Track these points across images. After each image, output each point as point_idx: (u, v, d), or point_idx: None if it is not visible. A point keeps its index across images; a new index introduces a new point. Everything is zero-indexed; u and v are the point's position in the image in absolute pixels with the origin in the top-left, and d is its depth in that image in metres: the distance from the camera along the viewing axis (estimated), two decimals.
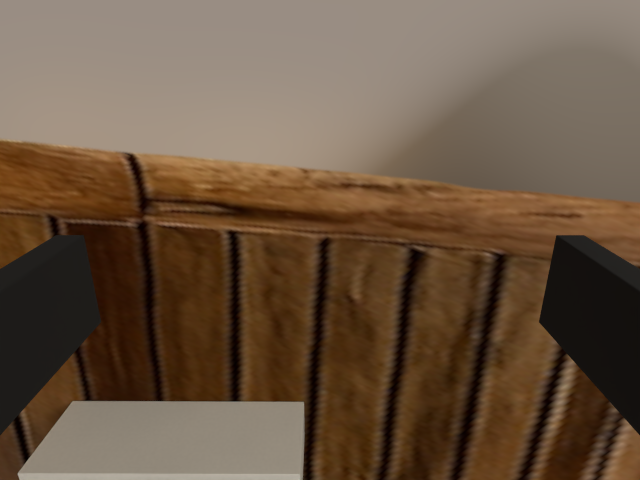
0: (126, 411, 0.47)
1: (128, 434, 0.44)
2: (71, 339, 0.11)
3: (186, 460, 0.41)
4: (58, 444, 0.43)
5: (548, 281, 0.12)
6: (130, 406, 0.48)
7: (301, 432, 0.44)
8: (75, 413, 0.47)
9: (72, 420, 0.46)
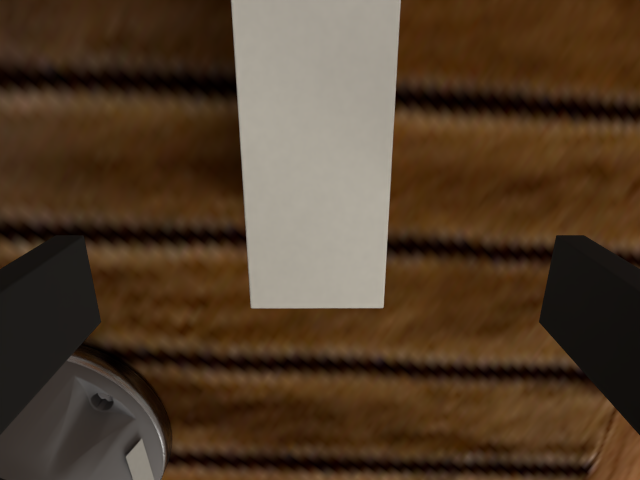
0: None
1: None
2: (71, 339, 0.11)
3: None
4: None
5: (549, 281, 0.12)
6: None
7: None
8: None
9: None
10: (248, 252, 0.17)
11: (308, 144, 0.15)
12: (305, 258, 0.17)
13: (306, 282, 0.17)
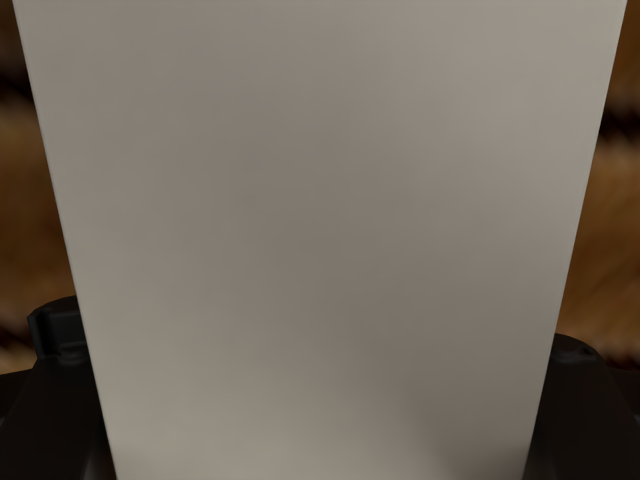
0: None
1: None
2: None
3: None
4: None
5: None
6: None
7: None
8: None
9: None
10: None
11: (292, 295, 0.05)
12: None
13: None
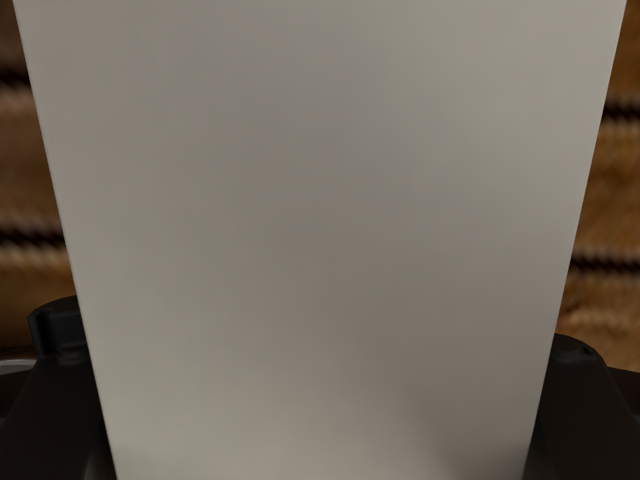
0: None
1: None
2: None
3: None
4: None
5: None
6: None
7: None
8: None
9: None
10: None
11: (292, 294, 0.05)
12: None
13: None
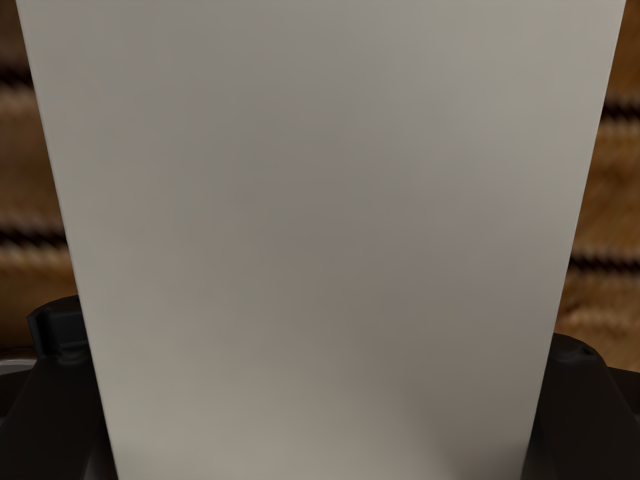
0: None
1: None
2: None
3: None
4: None
5: None
6: None
7: None
8: None
9: None
10: None
11: (293, 292, 0.05)
12: None
13: None
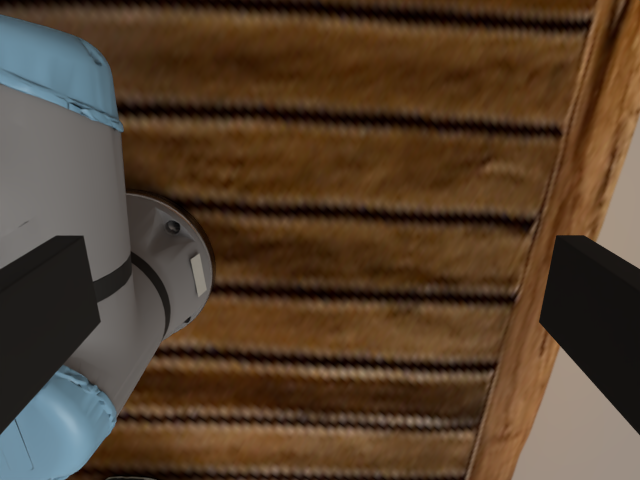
0: None
1: None
2: (71, 339, 0.11)
3: None
4: None
5: (549, 281, 0.12)
6: None
7: None
8: None
9: None
10: None
11: None
12: None
13: None
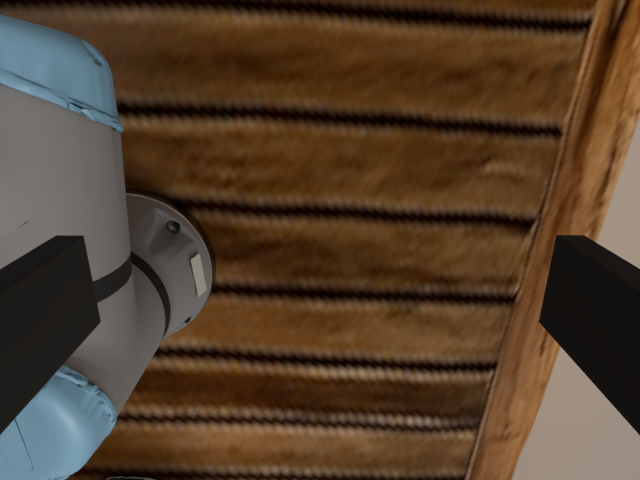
0: None
1: None
2: (71, 339, 0.11)
3: None
4: None
5: (549, 281, 0.12)
6: None
7: None
8: None
9: None
10: None
11: None
12: None
13: None
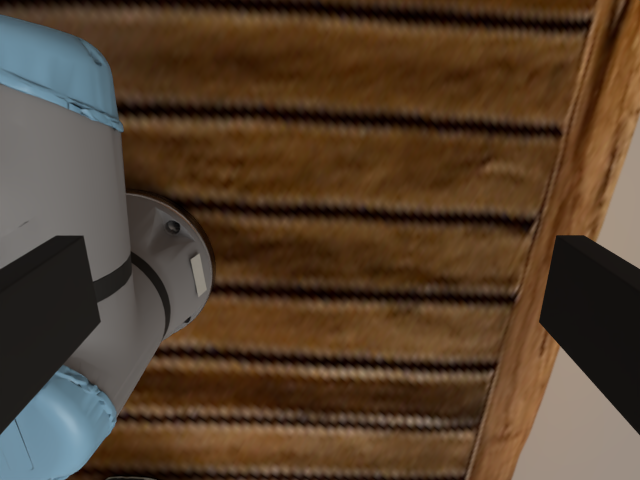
0: None
1: None
2: (71, 339, 0.11)
3: None
4: None
5: (549, 281, 0.12)
6: None
7: None
8: None
9: None
10: None
11: None
12: None
13: None
